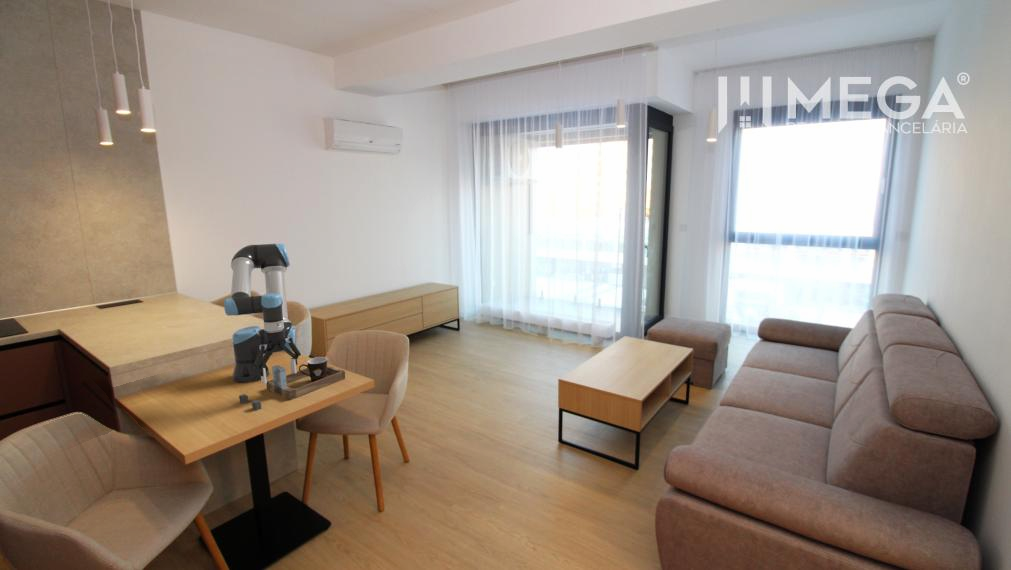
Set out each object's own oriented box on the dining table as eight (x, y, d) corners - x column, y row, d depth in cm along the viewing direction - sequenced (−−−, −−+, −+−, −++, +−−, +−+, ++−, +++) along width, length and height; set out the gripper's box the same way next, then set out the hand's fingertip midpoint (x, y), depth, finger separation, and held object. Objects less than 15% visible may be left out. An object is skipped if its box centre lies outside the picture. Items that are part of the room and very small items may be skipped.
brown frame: (267, 389, 211) (264, 363, 209) (321, 369, 233) (319, 346, 231) (291, 399, 201) (288, 372, 198) (345, 378, 223) (343, 353, 221)
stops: (239, 402, 199) (239, 395, 198) (244, 400, 200) (243, 393, 200) (256, 410, 192) (255, 403, 191) (261, 408, 193) (260, 401, 193)
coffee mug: (332, 377, 224) (330, 357, 222) (323, 384, 216) (321, 364, 214) (308, 376, 225) (306, 356, 223) (299, 383, 217) (297, 363, 215)
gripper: (249, 339, 189) (255, 389, 193) (306, 324, 209) (310, 370, 213) (240, 336, 193) (246, 385, 197) (296, 322, 213) (300, 367, 217)
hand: (279, 377), depth 205 cm, fingers open, 13 cm apart
